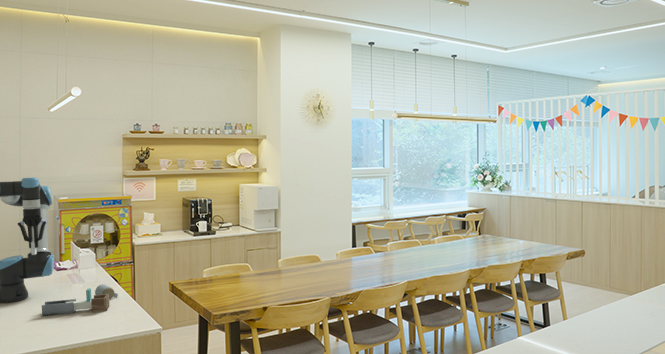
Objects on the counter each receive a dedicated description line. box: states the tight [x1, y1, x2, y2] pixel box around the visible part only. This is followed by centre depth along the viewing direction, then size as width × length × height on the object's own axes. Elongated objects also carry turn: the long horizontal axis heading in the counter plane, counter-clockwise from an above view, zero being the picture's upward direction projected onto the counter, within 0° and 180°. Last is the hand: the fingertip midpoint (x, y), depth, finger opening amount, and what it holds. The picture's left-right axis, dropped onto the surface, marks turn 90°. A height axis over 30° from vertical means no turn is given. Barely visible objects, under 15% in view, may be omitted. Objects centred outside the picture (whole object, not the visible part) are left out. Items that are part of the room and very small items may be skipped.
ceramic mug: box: [94, 283, 119, 301], centre depth 268 cm, size 11×8×8 cm
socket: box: [91, 294, 110, 313], centre depth 250 cm, size 8×7×6 cm
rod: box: [66, 287, 92, 311], centre depth 248 cm, size 4×18×10 cm, turn 106°
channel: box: [41, 298, 77, 317], centre depth 245 cm, size 6×14×6 cm, turn 106°
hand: (34, 254), depth 246 cm, fingers closed
